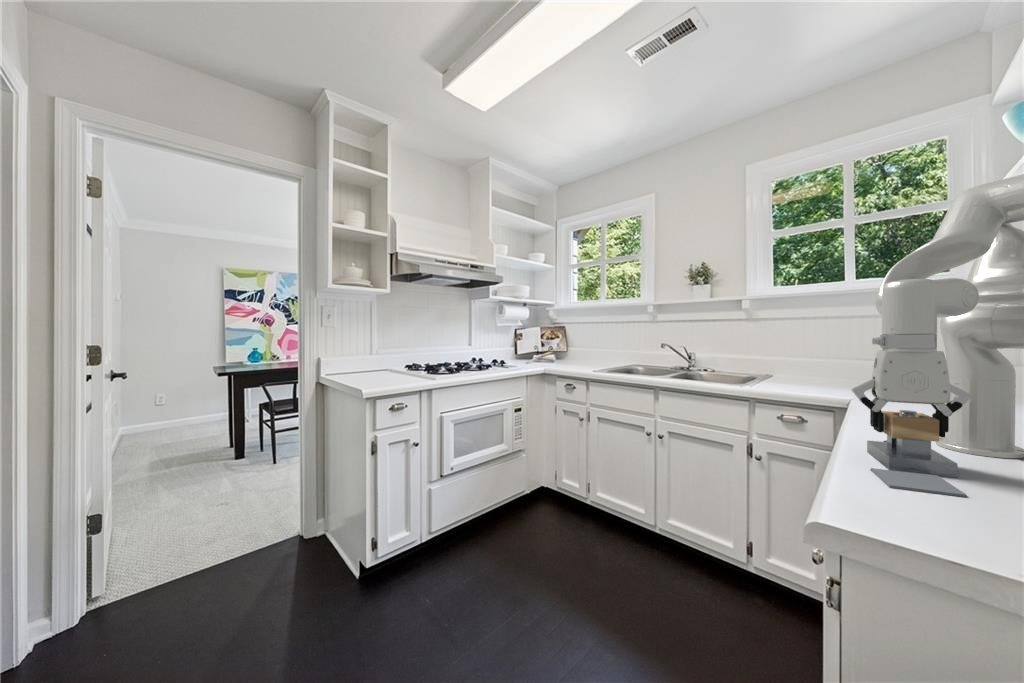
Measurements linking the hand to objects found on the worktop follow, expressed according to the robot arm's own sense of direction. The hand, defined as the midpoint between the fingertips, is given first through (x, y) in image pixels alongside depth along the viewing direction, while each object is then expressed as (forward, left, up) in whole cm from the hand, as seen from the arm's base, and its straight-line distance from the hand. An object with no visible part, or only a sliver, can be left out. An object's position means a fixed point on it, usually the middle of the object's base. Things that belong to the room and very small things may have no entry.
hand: (907, 432), depth 76 cm
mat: (+12, -3, -6) cm, 14 cm away
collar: (0, 0, -1) cm, 1 cm away
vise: (-3, 0, -6) cm, 7 cm away
